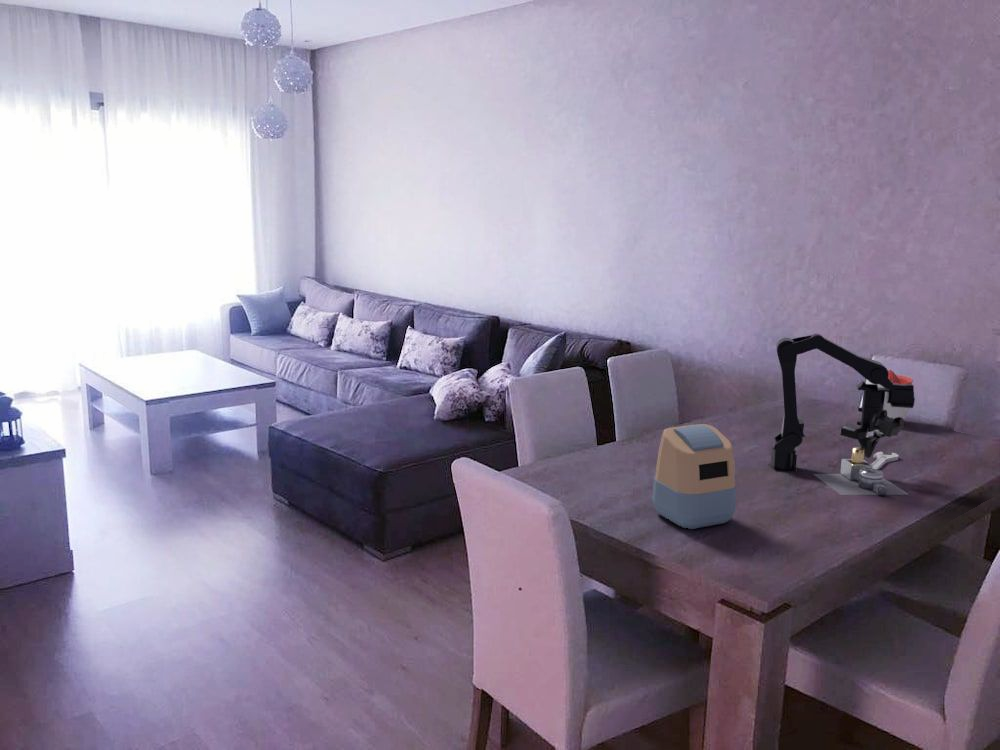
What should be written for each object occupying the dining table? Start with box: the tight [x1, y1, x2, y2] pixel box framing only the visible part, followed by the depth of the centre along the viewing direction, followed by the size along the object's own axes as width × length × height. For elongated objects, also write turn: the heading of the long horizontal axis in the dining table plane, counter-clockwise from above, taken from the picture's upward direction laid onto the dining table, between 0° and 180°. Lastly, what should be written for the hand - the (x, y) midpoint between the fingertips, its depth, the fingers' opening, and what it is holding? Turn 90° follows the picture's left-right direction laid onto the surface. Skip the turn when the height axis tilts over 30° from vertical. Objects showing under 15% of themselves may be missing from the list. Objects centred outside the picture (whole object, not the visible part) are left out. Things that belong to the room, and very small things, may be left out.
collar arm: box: [840, 458, 888, 496], centre depth 227 cm, size 20×6×4 cm, turn 2°
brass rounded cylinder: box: [850, 446, 865, 464], centre depth 233 cm, size 3×3×8 cm
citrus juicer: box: [865, 369, 914, 422], centre depth 294 cm, size 16×17×20 cm
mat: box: [813, 473, 909, 496], centre depth 229 cm, size 19×18×1 cm
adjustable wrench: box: [871, 451, 899, 470], centre depth 247 cm, size 25×6×2 cm, turn 137°
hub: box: [858, 468, 884, 491], centre depth 225 cm, size 6×6×5 cm
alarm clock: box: [651, 423, 737, 530], centre depth 201 cm, size 17×17×23 cm
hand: (867, 457), depth 235 cm, fingers closed
